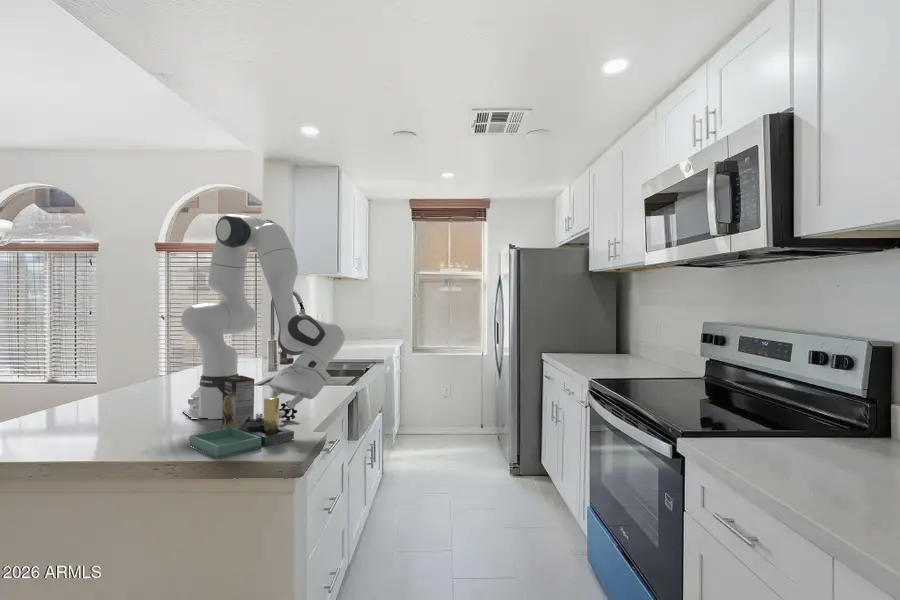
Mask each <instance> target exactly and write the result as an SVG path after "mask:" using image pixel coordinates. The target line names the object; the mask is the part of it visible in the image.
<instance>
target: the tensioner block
mask: <svg viewBox="0 0 900 600" xmlns="http://www.w3.org/2000/svg"><path fill="white" fill-rule="evenodd" d="M238 430H241V431H244V432H247V433H250V434H253V435H256V436H259V437H261V447H265V448H266V447H270V446H273V444H274V445H278V444H277V443H279V444H282V443H281V442H283V443H286V442H285V441H287V442H290V441H289V440H291V441H293V440H292V439H294V438H295V437H294V436H295V431H294V430H291V429H288V428H284V427H281V426H279V433H274V434H270V435H267V434H264V413H255V418H254V419H252V420H249V421H248V426H247V427H242V428H238ZM294 440H295V439H294Z"/></svg>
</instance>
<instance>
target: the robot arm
mask: <svg viewBox="0 0 900 600" xmlns="http://www.w3.org/2000/svg"><path fill="white" fill-rule="evenodd" d="M215 236H216V240H215V243H214V246H213V249H212V253H211V254H212V255H211V260H210V265H209V272H208V280H207V282H208V286H209V287H210V289H212V290H213V291H214V292H216V293H217V294H219V296H220V303H219V302H218V303H205V302H203V303H197V304H193V305H192V304H191V305H189V306H187V307H186V308H185V309H184V310H183V312H182V314H181V318H180V320H181V321H180V322H181V326H182V328H183V329H184V331H185V332H186V333H187V334H189V335H190V337H192V338H194V340H195V341H196V343H197V344H198V346H199V349H200V352H201V359H202V375H201V376H199V377H200V378H199V386H198V388H197V389H196V390H195V391H194V392H193V393H192V394H191V396H190V397H189V398H187V404H188V405H189V407H187V408H184V409H182V412H183V411H184V412H185V413H187V414H188V415H189V416H190V417H191V418H208V419H207V420H220V419H221V420H222V410H223V377H227V376H240V375H239V373H238V352H237V350H236V349H234V347H232V346H230V345H228V344H227V343H226V342H225V337H224V335H239V334H243V333H247V332H250V331H252V330H253V329H254V328H255V327H256V324H257V320H258V316H257V312H256V311H255V308H254V307H253V306H252V305H251V304H249V301H248V300H247V298H246V295H245V290H244V289H245V288H244V285H245V275H246V267H247V258H248V254H249V253H250V252H252V251H254V250H255V251H256V253H257V257H258V260H259V263H260V266H261V270H262V271H263V275H264V277H265V280H266V283H267V286H268V289H269V291H270V295H271V298H272V303H273V306H274V311H275V314H276V318H277V322H278V327H279V328H278V336H277V342H278V343H277V344H278V346H279V348H280V349H281V351H282V352H283V353H285V354H286V355H290V356H298V357H297V358H296V360H295V361H294V362H293V363H292V365H289V366H287V367H284V368H282V369H281V370H279V372H278V373H277V374H276V375H275V376H274V377H273V378H272V379H271V380H270V381H269V385H268V386H269V387H270V388H271V389H272V391H271V395H270V397H277V398H278V396H280V395H281V394H284V395H288V396H294V397H293V398H292V399H291V400H290V399H289V400H287V401H288V403H285V405H286V408H287V409H288V408H289V409H293V407H294V406H295V407H296V406H297V404H299V403H300V402H302V401H303V400H304V399H308V400H312V399H314V398H316V397H317V396H318V395H319V393H320V392H321V391H322V389H323V388H324V387H325V384H326V382H329V380H330V379H331V378H332V377H331V375H330V374H329V373H328V371H327V370H326V369H327V367H328V364H329V363H330V362H331V361H333V360H334V359H335V358H336V356H338V355H337V354H338V353H339V352H340V350H341V349H342V347H343V345H344V343H345V334H344V331H343V330H342V329H341V328H340V327H339V325H337V324H335V323H334V322H324V321H320V320H318V319H315V318H313V317H312V316H311V315H308V314H305V313H301V314H300V313H299V314H298V312H297V309H296V305H295V302H294V287H295V284H296V283H295V282H296V279H297V276H298V272H299V271H298V270H299V269H298V261H297V257H296V254H295V250H294V248H293V245H292V243H291V240H290V239H289V236H288V235H287V232H286V231H285V229H284V228H283V227H282V226H281V225H280V224H278V223H276V222H274V221H273V220H270V219H268V218H266V219H265V218H262V217H259V216H258V217H257V216H252V215H251V216H250V215H237V214H226V215H223V216H221V217H220V218H219V219H218V221H217V223H216V226H215ZM295 407H294V408H295Z"/></svg>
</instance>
